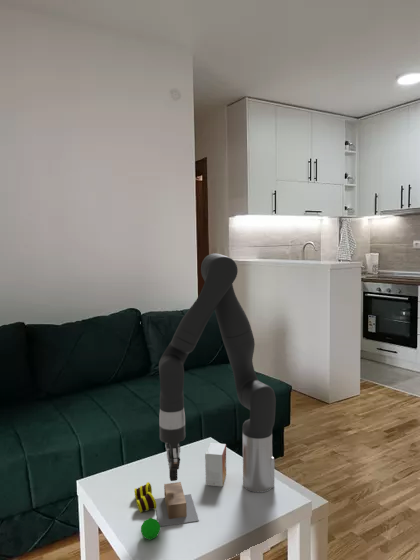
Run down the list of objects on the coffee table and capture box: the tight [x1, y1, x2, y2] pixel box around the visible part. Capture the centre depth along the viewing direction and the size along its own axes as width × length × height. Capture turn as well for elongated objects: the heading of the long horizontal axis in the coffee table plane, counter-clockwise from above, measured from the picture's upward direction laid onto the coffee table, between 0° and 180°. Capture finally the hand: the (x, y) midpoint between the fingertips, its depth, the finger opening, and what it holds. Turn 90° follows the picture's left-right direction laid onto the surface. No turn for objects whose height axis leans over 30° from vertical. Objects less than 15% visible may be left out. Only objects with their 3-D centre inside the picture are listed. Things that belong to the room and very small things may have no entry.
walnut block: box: [163, 481, 187, 519], centre depth 128 cm, size 5×4×11 cm
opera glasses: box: [134, 482, 157, 514], centre depth 130 cm, size 10×5×5 cm, turn 17°
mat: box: [154, 493, 200, 528], centre depth 127 cm, size 11×13×1 cm
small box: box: [204, 442, 227, 487], centre depth 142 cm, size 8×6×10 cm
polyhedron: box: [140, 517, 161, 540], centre depth 115 cm, size 5×5×5 cm
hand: (173, 479), depth 130 cm, fingers closed
